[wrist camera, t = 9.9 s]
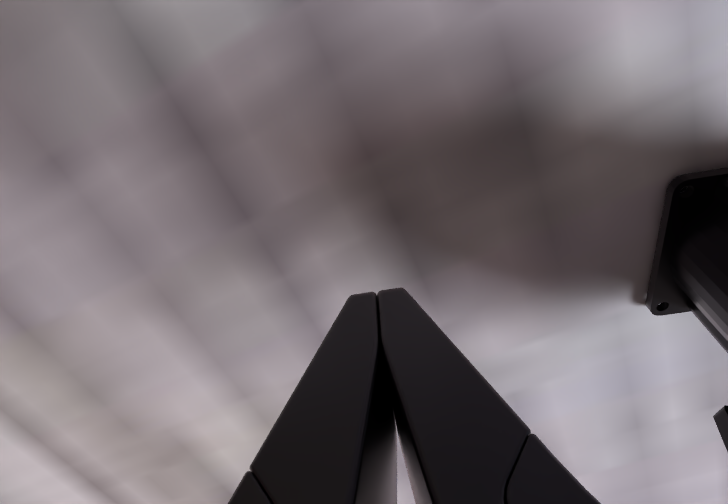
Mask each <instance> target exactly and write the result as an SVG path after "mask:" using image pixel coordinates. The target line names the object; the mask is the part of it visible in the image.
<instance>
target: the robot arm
mask: <svg viewBox="0 0 728 504" xmlns="http://www.w3.org/2000/svg"><path fill="white" fill-rule="evenodd" d="M685 186H688V187H687V189H686V190H685V191H683V192H681V193H680V191H681V189H682V188H684V187H685ZM660 303H661V304H660ZM658 304H659V305H658ZM646 306H647V307H648V309H649V310H650V311H651V312H652V314H654V315H668V314H675V313H682V312H689V311H692V312H693V313H694V314H695V316H696V317H697V318H698V319H699V320H700V321H701V323H702V324H703V325H704V326H705V327H706V328H707V330H708V331H709V332H710V333H711V334H712V335H713V336H714V338H715V339H716V340H717V341H718V342H719V343H720V345H721V346H722V347H723V348H724V349H725V350H726V352H727V353H728V168H723V169H717V170H710V171H704V172H698V173H691V174H685V175H681V176H678V177H676V178H675V179H673V180H672V181H671V183H670V184H669V186H668V188H667V193H666V198H665V203H664V209H663V214H662V219H661V225H660V230H659V235H658V241H657V246H656V251H655V257H654V262H653V267H652V273H651V278H650V283H649V289H648V294H647V299H646ZM713 417H714V420H715V422H716V425H717V427H718V430H719V432H720V434H721V437H722V439H723V442H724V444H725V447H726V449H727V451H728V406H726V405H725V406H724V407H723V408H722V409H721V410H719V411H718V412H717V413H716V414H715V415H714V416H713ZM395 420H396V423H395ZM396 426H397V431H398V436H399V440H400V444H401V449H402V453H403V456H404V460H405V464H406V468H407V472H408V476H409V479H410V483H411V487H412V491H413V495H414V499H415V503H416V504H601V503H600V502H599V501H598V500H597V499H596V498H594V497H593V496H592V495H591V494H590V493H589V492H588V491H587V490H586V489H585V488H584V487H583V486H582V485H581V484H580V483H579V482H578V481H577V479H576V478H575V477H574V476H573V475H572V474H571V473H570V472H569V471H568V470H567V469H566V468H565V467H564V466H563V465H562V464H561V463H560V462H559V461H558V459H557V458H556V457H555V456H554V455H553V454H552V453H551V452H550V451H549V450H548V448H547V447H546V446H545V445H544V444H543V443H542V442H541V441H540V440H539V438H538V437H537V436H536V435H535V434H531V431H530V429H529V428H528V426H527V425H526V424H525V423H524V422H523V421H522V420H521V419H520V418H519V416H518V415H517V414H516V413H515V412H514V411H513V410H512V409H511V407H510V406H509V405H508V404H507V403H506V402H505V401H504V400H503V399H502V397H501V396H500V395H499V394H498V393H497V392H496V391H495V390H494V388H493V387H492V386H491V385H490V384H489V383H488V382H487V381H486V379H485V378H484V377H483V376H482V375H481V374H480V373H479V372H478V371H477V369H476V368H475V367H474V366H473V365H472V364H471V363H470V362H469V360H468V359H467V358H466V357H465V356H464V355H463V354H462V353H461V351H460V350H459V349H458V348H457V347H456V346H455V345H454V344H453V343H452V341H451V340H450V339H449V338H448V337H447V336H446V335H445V334H444V332H443V331H442V330H441V329H440V328H439V327H438V326H437V325H436V323H435V322H434V321H433V320H432V319H431V318H430V317H429V316H428V315H427V313H426V312H425V311H424V310H423V309H422V308H421V307H420V306H419V304H418V303H417V302H416V301H415V300H414V299H413V298H412V297H411V296H410V294H409V293H408V292H407V291H406V290H405V289H403V288H395V289H388V290H382V291H379V292H378V294H377V295H376V293H374V292H368V293H361V294H354V295H351V296H350V297H349V298H348V299H347V301H346V303H345V304H344V306H343V308H342V310H341V311H340V313H339V315H338V316H337V318H336V320H335V322H334V323H333V325H332V327H331V328H330V330H329V332H328V334H327V335H326V337H325V339H324V340H323V342H322V344H321V346H320V347H319V349H318V351H317V352H316V354H315V356H314V358H313V359H312V361H311V363H310V364H309V366H308V368H307V370H306V371H305V373H304V375H303V376H302V378H301V380H300V382H299V383H298V385H297V387H296V388H295V390H294V392H293V394H292V395H291V397H290V399H289V400H288V402H287V404H286V406H285V407H284V409H283V411H282V412H281V414H280V416H279V418H278V419H277V421H276V423H275V424H274V426H273V428H272V430H271V431H270V433H269V435H268V436H267V438H266V440H265V441H264V443H263V445H262V447H261V448H260V450H259V452H258V453H257V455H256V457H255V459H254V460H253V462H252V464H251V465H250V471H248V472H246V473H245V475H244V477H243V479H242V480H241V482H240V484H239V485H238V487H237V489H236V491H235V492H234V494H233V496H232V497H231V499H230V501H229V502H228V504H397V434H396Z"/></svg>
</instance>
